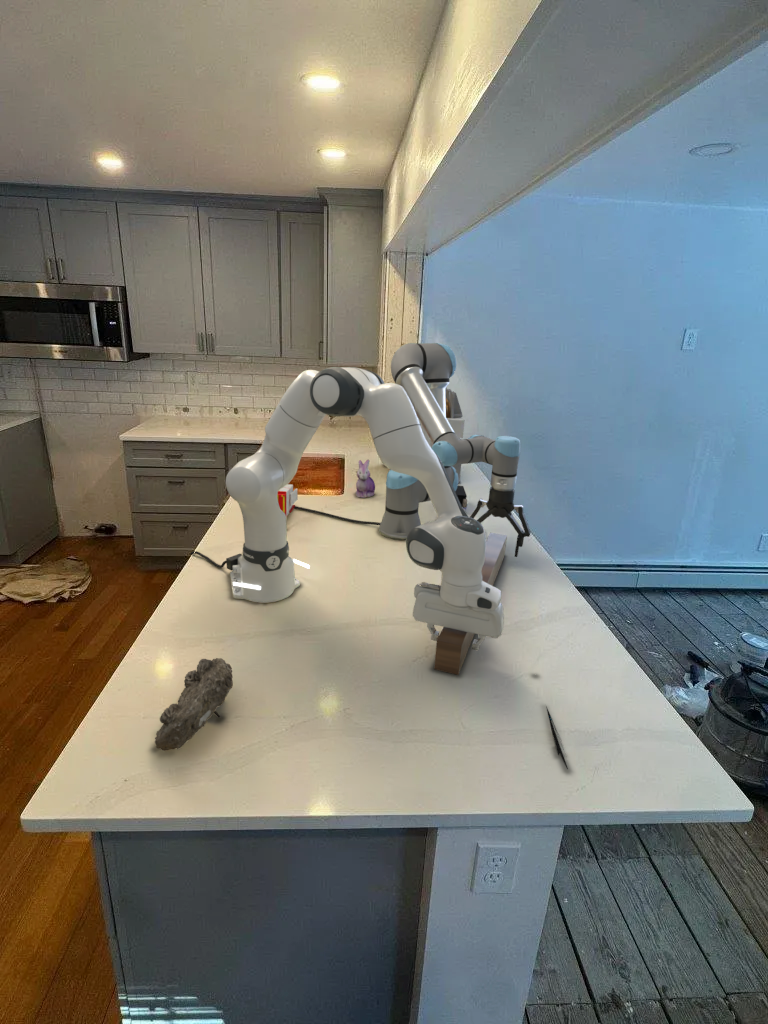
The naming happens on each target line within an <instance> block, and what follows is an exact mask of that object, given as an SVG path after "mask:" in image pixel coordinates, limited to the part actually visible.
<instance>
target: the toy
mask: <svg viewBox="0 0 768 1024" xmlns="http://www.w3.org/2000/svg"><path fill="white" fill-rule="evenodd" d="M298 498H299V496H298V488H295V489H294V484H290V483H288V484H287V485H286V486H284V487H283V488H281V489H280V490H278V494H277V499H278V503H279V507H280V509H281V510H282V511H283V512H284V513H285V515H286V518H287V517H288V516H289V514H290V513H292V512H293V510H295V509H294V506H296V504H295V503H296V502H297V501H299V500H298Z"/></svg>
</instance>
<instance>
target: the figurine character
mask: <svg viewBox="0 0 768 1024" xmlns="http://www.w3.org/2000/svg"><path fill="white" fill-rule="evenodd" d="M455 493H456V495H457V497H458V499H459V502H460V504H461V506H462V508H463V509H464V508H465V509H466V508H467V506H468V499H467V497H468V496H467V495H468V494H467V493H466V490H465V487H464V485H458V486H457V489H456V491H455Z"/></svg>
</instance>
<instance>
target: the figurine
mask: <svg viewBox="0 0 768 1024" xmlns="http://www.w3.org/2000/svg"><path fill="white" fill-rule="evenodd" d="M369 465H370V460H369V459H365V462H364V463H363V461H362V460H361V459H360V460H358V469H357V472H356V477H357V481H356V484H355V488H356V490H355V495H356V497H357V498H362V499H363V498H370V497H372V496H374V495H375V492H376V483H375V480H374V479H373V478H372V477H371V473H370V470H369Z"/></svg>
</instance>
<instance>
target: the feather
mask: <svg viewBox="0 0 768 1024" xmlns="http://www.w3.org/2000/svg"><path fill="white" fill-rule="evenodd" d="M535 676H537V674H536V673H535ZM545 708H546V712H547V716H548V719H549V725H550V730H551V733H552V738H553V741H554V745H555V748H556V753H557V755H558V756H559V755H560V757H561V759H562V761H563V763H564V766H565V767H566V769H567V770H568V769H569V768H568V765H567V762H566V759H565V756H564V754H565V755H566V756H567V754H566V753H563V751H565V750H566V749H565V748H566V747H564V745H560V744H561V743H563V742H562V738H561V737H560V734H559V732H558V728H557V727H556V725H555V723H554V720H553V718H552V716H551V713H550V711H549V709H548V706H547V705H545ZM561 747H562V748H561ZM562 750H563V751H562Z"/></svg>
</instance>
